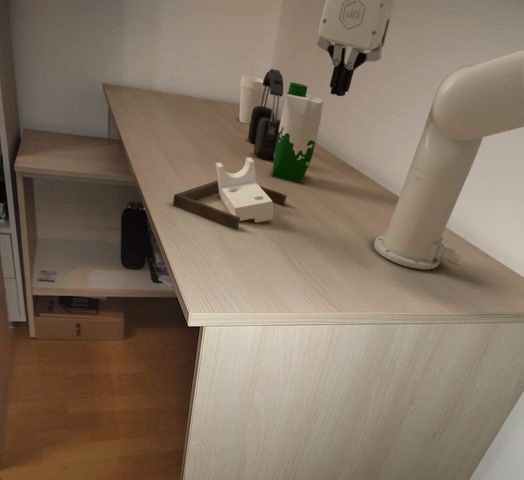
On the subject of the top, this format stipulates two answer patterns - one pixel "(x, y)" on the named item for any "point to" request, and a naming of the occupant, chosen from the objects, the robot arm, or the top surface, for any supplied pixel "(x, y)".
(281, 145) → the milk carton
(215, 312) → the top surface
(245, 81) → the foam cup
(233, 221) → the bay
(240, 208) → the bracket
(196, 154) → the top surface
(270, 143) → the headphones
